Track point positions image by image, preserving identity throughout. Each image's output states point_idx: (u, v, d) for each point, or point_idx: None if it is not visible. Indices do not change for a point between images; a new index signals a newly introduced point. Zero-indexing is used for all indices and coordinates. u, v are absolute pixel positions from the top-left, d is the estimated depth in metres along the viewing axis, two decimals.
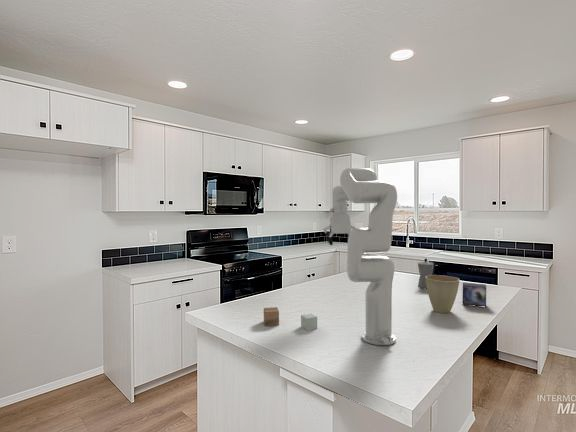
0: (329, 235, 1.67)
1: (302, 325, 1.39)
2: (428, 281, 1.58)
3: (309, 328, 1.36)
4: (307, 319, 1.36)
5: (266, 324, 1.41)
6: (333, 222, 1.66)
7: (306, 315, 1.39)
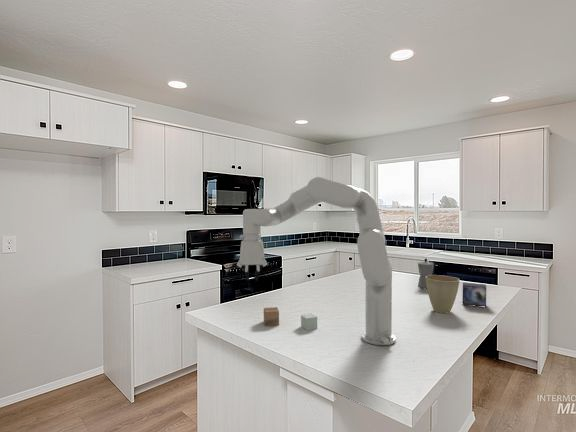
0: (245, 270, 1.41)
1: (302, 325, 1.39)
2: (428, 281, 1.58)
3: (309, 328, 1.36)
4: (307, 319, 1.36)
5: (266, 324, 1.41)
6: (242, 251, 1.39)
7: (306, 315, 1.39)
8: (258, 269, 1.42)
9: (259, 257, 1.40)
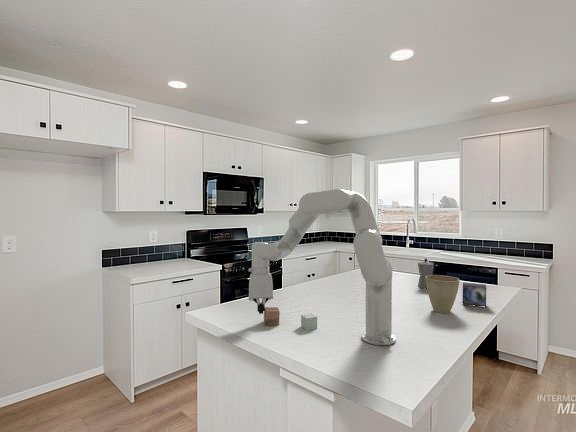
0: (257, 303, 1.42)
1: (302, 325, 1.39)
2: (428, 281, 1.58)
3: (309, 328, 1.36)
4: (307, 319, 1.36)
5: (266, 323, 1.41)
6: (251, 285, 1.40)
7: (306, 315, 1.39)
8: (264, 302, 1.42)
9: (268, 290, 1.41)
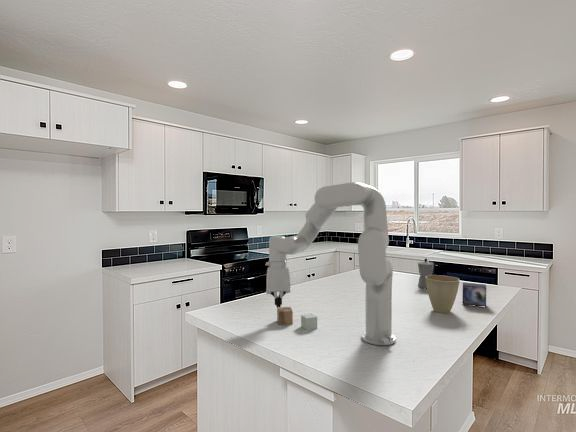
0: None
1: (302, 325, 1.39)
2: (428, 281, 1.58)
3: (309, 328, 1.36)
4: (307, 319, 1.36)
5: (280, 312, 1.42)
6: (269, 278, 1.41)
7: (306, 315, 1.39)
8: (281, 295, 1.43)
9: (285, 284, 1.42)
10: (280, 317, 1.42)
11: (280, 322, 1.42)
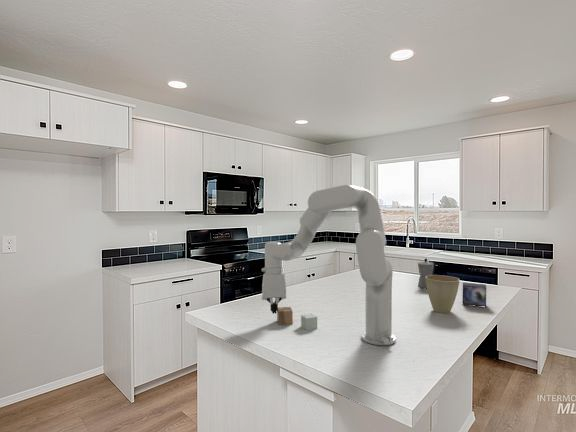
0: (270, 303, 1.43)
1: (302, 325, 1.39)
2: (428, 281, 1.58)
3: (309, 328, 1.36)
4: (307, 319, 1.36)
5: (280, 312, 1.42)
6: (264, 285, 1.41)
7: (306, 315, 1.39)
8: (277, 302, 1.43)
9: (281, 290, 1.42)
10: (280, 317, 1.42)
11: (280, 322, 1.42)
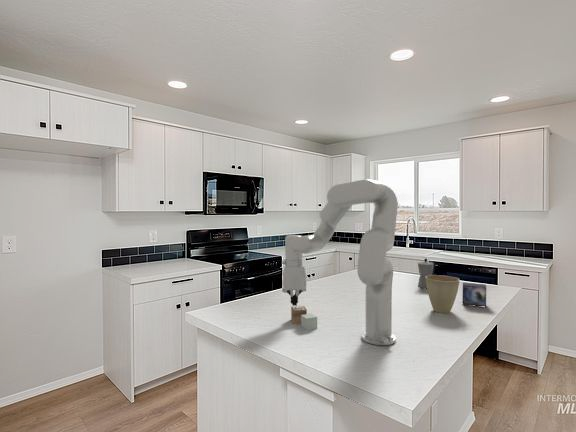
0: (290, 295, 1.44)
1: (302, 325, 1.39)
2: (428, 281, 1.58)
3: (309, 328, 1.36)
4: (307, 319, 1.36)
5: (305, 311, 1.43)
6: (285, 277, 1.42)
7: (306, 315, 1.39)
8: (297, 294, 1.45)
9: (301, 282, 1.43)
10: (300, 312, 1.43)
11: (295, 312, 1.43)
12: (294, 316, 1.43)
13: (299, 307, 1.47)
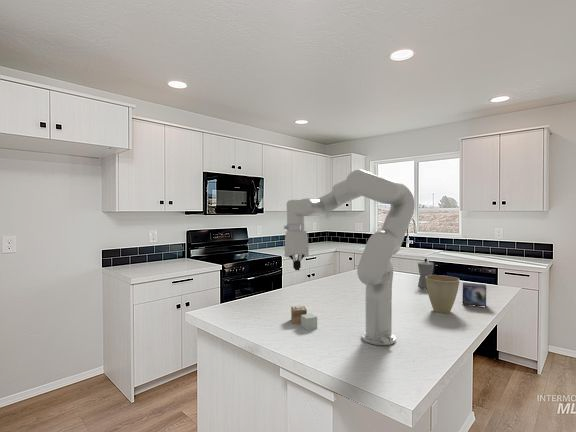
0: (293, 260, 1.44)
1: (302, 325, 1.39)
2: (428, 281, 1.58)
3: (309, 328, 1.36)
4: (307, 319, 1.36)
5: (305, 311, 1.43)
6: (287, 241, 1.42)
7: (306, 315, 1.39)
8: (299, 258, 1.44)
9: (304, 246, 1.43)
10: (300, 312, 1.43)
11: (295, 312, 1.43)
12: (294, 316, 1.43)
13: (299, 307, 1.47)
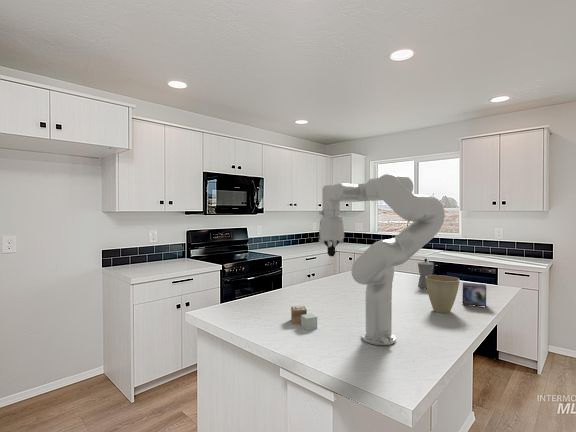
0: (328, 246, 1.42)
1: (302, 325, 1.39)
2: (428, 281, 1.58)
3: (309, 328, 1.36)
4: (307, 319, 1.36)
5: (305, 311, 1.43)
6: (323, 227, 1.41)
7: (306, 315, 1.39)
8: (334, 245, 1.43)
9: (339, 232, 1.42)
10: (300, 312, 1.43)
11: (295, 312, 1.43)
12: (294, 316, 1.43)
13: (299, 307, 1.47)
